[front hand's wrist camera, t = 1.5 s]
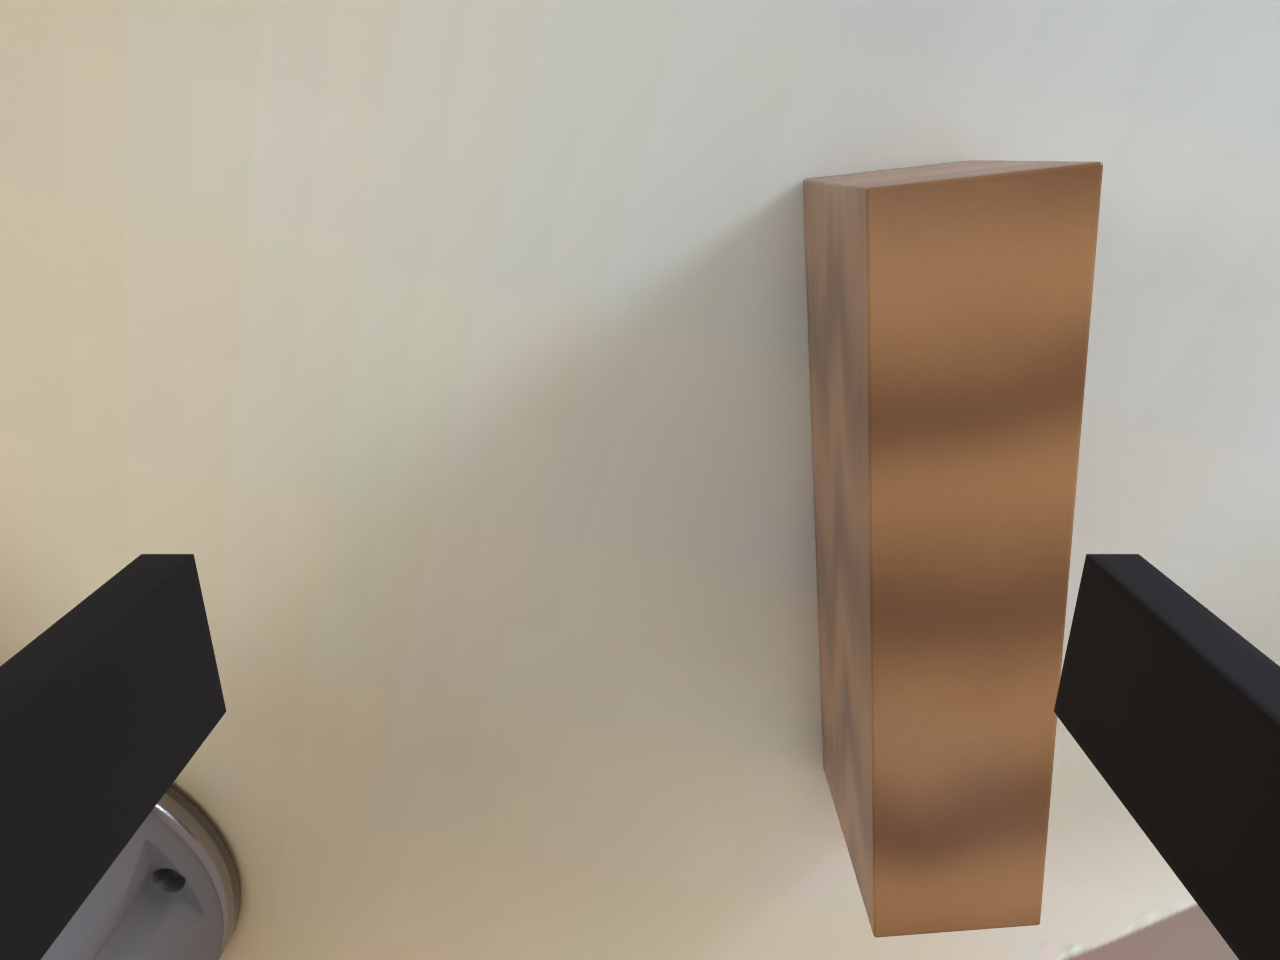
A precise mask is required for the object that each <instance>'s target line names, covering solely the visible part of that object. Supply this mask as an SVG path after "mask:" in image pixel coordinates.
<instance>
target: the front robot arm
mask: <svg viewBox="0 0 1280 960" xmlns="http://www.w3.org/2000/svg"><path fill="white" fill-rule="evenodd" d="M225 712H226V708H225V703H224V698H223V693H222V689H221V684H220V679H219V674H218V669H217V665H216V660H215V655H214V650H213V645H212V640H211V636H210V631H209V626H208V621H207V616H206V612H205V607H204V602H203V597H202V592H201V588H200V583H199V578H198V573H197V568H196V564H195V559H194V554H141V555H140V556H139V557H137V558H136V559H135V560H134V561H132V562H131V563H130V564H129V565H127V566H126V567H125V568H124V569H122V570H121V571H120V572H119V573H117V574H116V575H115V576H114V577H112V578H111V579H110V580H109V581H107V582H106V583H105V584H104V585H102V586H101V587H100V588H99V589H97V590H96V591H95V592H93V593H92V594H91V595H90V596H88V597H87V598H86V599H85V600H83V601H82V602H81V603H80V604H78V605H77V606H76V607H75V608H73V609H72V610H71V611H70V612H68V613H67V614H66V615H65V616H63V617H62V618H61V619H60V620H58V621H57V622H56V623H55V624H53V625H52V626H51V627H50V628H48V629H47V630H46V631H45V632H43V633H42V634H41V635H39V636H38V637H37V638H36V639H34V640H33V641H32V642H31V643H29V644H28V645H27V646H26V647H24V648H23V649H22V650H21V651H19V652H18V653H17V654H16V655H14V656H13V657H12V658H11V659H9V660H8V661H7V662H6V663H4V664H3V665H2V666H1V667H0V960H219V958H220V956H221V955H222V953H223V951H224V949H225V947H226V945H227V943H228V941H229V939H230V937H231V935H232V933H233V931H234V929H235V926H236V922H237V919H238V915H239V908H240V888H239V880H238V876H237V872H236V868H235V866H234V863H233V860H232V858H231V855H230V853H229V851H228V849H227V847H226V845H225V843H224V842H223V840H222V839H221V837H220V836H219V834H218V833H217V831H216V830H215V828H214V827H213V826H212V825H211V823H210V822H209V821H208V819H207V818H206V817H205V816H204V815H203V814H202V813H201V812H200V811H199V810H198V809H197V808H196V807H195V806H194V805H193V804H192V803H191V802H190V801H189V800H187V799H186V798H185V797H184V796H183V795H182V794H180V793H179V792H178V791H176V790H175V789H174V788H172V787H171V785H172V783H173V782H174V781H175V779H176V778H177V777H178V775H179V774H180V773H181V771H182V770H183V768H184V767H185V766H186V764H187V763H188V762H189V760H190V759H191V758H192V756H193V755H194V754H195V752H196V751H197V750H198V748H199V747H200V746H201V744H202V743H203V742H204V740H205V739H206V738H207V736H208V735H209V734H210V732H211V731H212V730H213V728H214V727H215V726H216V724H217V723H218V722H219V720H220V719H221V718H222V716H223V715H224V714H225ZM1054 712H1055V714H1056V715H1057V716H1058V718H1059V719H1060V720H1061V722H1062V723H1063V724H1064V726H1065V727H1066V728H1067V730H1068V731H1069V732H1070V734H1071V735H1072V736H1073V738H1074V739H1075V740H1076V742H1077V743H1078V744H1079V746H1080V747H1081V748H1082V750H1083V751H1084V752H1085V754H1086V755H1087V756H1088V758H1089V759H1090V760H1091V762H1092V763H1093V764H1094V766H1095V767H1096V768H1097V770H1098V771H1099V773H1100V774H1101V775H1102V777H1103V778H1104V779H1105V781H1106V782H1107V783H1108V785H1109V786H1110V787H1111V789H1112V790H1113V791H1114V793H1115V794H1116V795H1117V797H1118V798H1119V799H1120V801H1121V802H1122V803H1123V805H1124V806H1125V807H1126V809H1127V810H1128V811H1129V813H1130V814H1131V815H1132V817H1133V818H1134V819H1135V821H1136V822H1137V823H1138V825H1139V826H1140V827H1141V829H1142V830H1143V831H1144V833H1145V834H1146V835H1147V837H1148V838H1149V839H1150V841H1151V842H1152V843H1153V845H1154V846H1155V847H1156V849H1157V850H1158V851H1159V853H1160V854H1161V856H1162V857H1163V858H1164V860H1165V861H1166V862H1167V864H1168V865H1169V866H1170V868H1171V869H1172V870H1173V872H1174V873H1175V874H1176V876H1177V877H1178V878H1179V880H1180V881H1181V882H1182V884H1183V885H1184V886H1185V888H1186V889H1187V890H1188V892H1189V893H1190V894H1191V896H1192V897H1193V898H1194V900H1195V901H1196V902H1197V904H1198V905H1199V906H1200V908H1201V909H1202V910H1203V912H1204V913H1205V914H1206V916H1207V917H1208V918H1209V920H1210V921H1211V922H1212V924H1213V925H1214V926H1215V928H1216V929H1217V930H1218V932H1219V933H1220V934H1221V936H1222V937H1223V939H1224V940H1225V941H1226V943H1227V944H1228V945H1229V947H1230V948H1231V949H1232V951H1233V952H1234V953H1235V955H1236V956H1237V957H1238V959H1239V960H1280V667H1279V666H1278V665H1277V664H1276V663H1274V662H1273V661H1272V660H1271V659H1269V658H1268V657H1267V656H1266V655H1264V654H1263V653H1262V652H1261V651H1259V650H1258V649H1257V648H1256V647H1254V646H1253V645H1252V644H1251V643H1249V642H1248V641H1247V640H1246V639H1244V638H1243V637H1242V636H1241V635H1239V634H1238V633H1237V632H1235V631H1234V630H1233V629H1232V628H1230V627H1229V626H1228V625H1227V624H1225V623H1224V622H1223V621H1222V620H1220V619H1219V618H1218V617H1217V616H1215V615H1214V614H1213V613H1212V612H1210V611H1209V610H1208V609H1207V608H1205V607H1204V606H1203V605H1202V604H1200V603H1199V602H1198V601H1197V600H1195V599H1194V598H1193V597H1192V596H1190V595H1189V594H1188V593H1187V592H1185V591H1184V590H1183V589H1181V588H1180V587H1179V586H1178V585H1176V584H1175V583H1174V582H1173V581H1171V580H1170V579H1169V578H1168V577H1166V576H1165V575H1164V574H1163V573H1161V572H1160V571H1159V570H1158V569H1156V568H1155V567H1154V566H1153V565H1151V564H1150V563H1149V562H1148V561H1146V560H1145V559H1144V558H1143V557H1141V556H1140V555H1139V554H1086V559H1085V564H1084V568H1083V573H1082V578H1081V583H1080V588H1079V592H1078V597H1077V602H1076V607H1075V612H1074V616H1073V621H1072V626H1071V631H1070V636H1069V640H1068V645H1067V650H1066V655H1065V660H1064V665H1063V669H1062V674H1061V679H1060V684H1059V689H1058V693H1057V698H1056V703H1055V708H1054Z"/></svg>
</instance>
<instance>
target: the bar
mask: <svg viewBox="0 0 1280 960" xmlns="http://www.w3.org/2000/svg"><path fill="white" fill-rule="evenodd" d="M1102 170H1103V164H1102V163H1101V162H1061V161H962V162H953V163H944V164H935V165H926V166H917V167H908V168H899V169H890V170H881V171H872V172H863V173H854V174H845V175H836V176H828V177H819V178H810V179H805V180H804V181H803V193H804V222H805V250H806V278H807V307H808V335H809V363H810V391H811V420H812V448H813V476H814V505H815V533H816V561H817V590H818V618H819V646H820V674H821V703H822V731H823V759H824V771H825V774H826V778H827V781H828V784H829V788H830V791H831V794H832V798H833V801H834V804H835V808H836V811H837V814H838V818H839V821H840V824H841V828H842V831H843V834H844V838H845V841H846V844H847V848H848V851H849V855H850V858H851V861H852V865H853V868H854V871H855V875H856V878H857V881H858V885H859V888H860V891H861V895H862V898H863V901H864V905H865V908H866V911H867V915H868V918H869V921H870V925H871V928H872V931H873V935H874V936H875V937H886V936H899V935H912V934H925V933H938V932H951V931H964V930H977V929H990V928H1003V927H1016V926H1029V925H1038V924H1040V915H1041V903H1042V891H1043V879H1044V867H1045V855H1046V843H1047V831H1048V819H1049V807H1050V795H1051V783H1052V771H1053V759H1054V747H1055V735H1056V723H1057V715H1056V714H1055V712H1054V708H1055V703H1056V698H1057V693H1058V689H1059V684H1060V674H1061V662H1062V650H1063V638H1064V626H1065V614H1066V602H1067V590H1068V578H1069V566H1070V554H1071V542H1072V530H1073V518H1074V506H1075V494H1076V482H1077V470H1078V458H1079V446H1080V434H1081V422H1082V410H1083V398H1084V386H1085V374H1086V362H1087V350H1088V338H1089V326H1090V314H1091V302H1092V290H1093V278H1094V266H1095V254H1096V242H1097V230H1098V218H1099V206H1100V194H1101V182H1102Z"/></svg>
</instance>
